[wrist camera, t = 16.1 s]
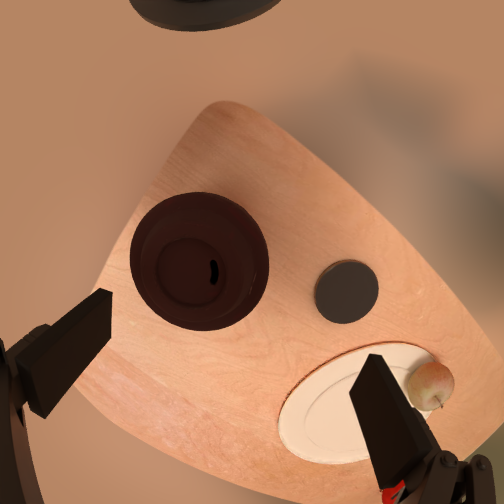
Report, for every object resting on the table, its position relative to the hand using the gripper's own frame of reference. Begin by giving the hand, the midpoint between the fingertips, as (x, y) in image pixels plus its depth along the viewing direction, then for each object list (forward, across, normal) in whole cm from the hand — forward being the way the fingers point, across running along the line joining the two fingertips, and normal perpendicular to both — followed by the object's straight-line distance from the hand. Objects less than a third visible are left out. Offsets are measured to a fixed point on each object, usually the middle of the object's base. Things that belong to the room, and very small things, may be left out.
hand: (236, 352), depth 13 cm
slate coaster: (+20, +12, -2) cm, 24 cm away
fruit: (+20, +30, -12) cm, 38 cm away
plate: (+20, +24, -22) cm, 38 cm away
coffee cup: (+20, -4, +1) cm, 21 cm away
